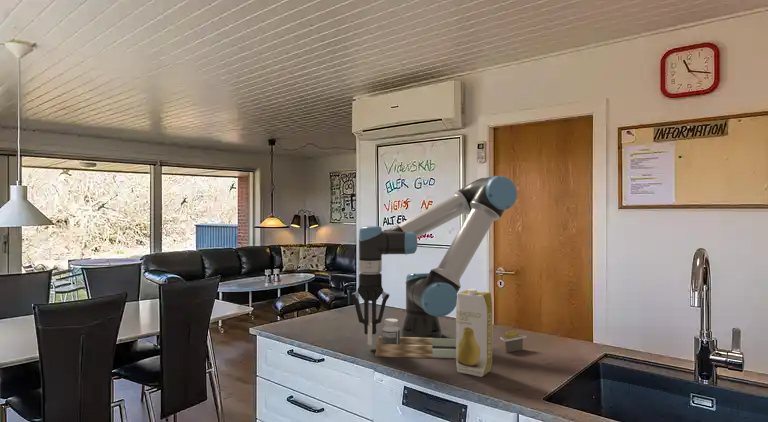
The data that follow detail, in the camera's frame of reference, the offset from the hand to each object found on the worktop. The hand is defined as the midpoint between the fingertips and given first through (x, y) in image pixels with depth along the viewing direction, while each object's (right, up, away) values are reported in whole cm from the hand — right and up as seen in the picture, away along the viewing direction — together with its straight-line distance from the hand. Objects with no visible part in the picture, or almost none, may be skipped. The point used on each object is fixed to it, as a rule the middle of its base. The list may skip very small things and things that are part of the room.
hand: (370, 343), depth 164 cm
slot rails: (+11, -2, -1) cm, 12 cm away
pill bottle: (+7, -2, -1) cm, 7 cm away
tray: (+27, -2, -2) cm, 27 cm away
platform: (+47, -3, 0) cm, 47 cm away
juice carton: (+30, -2, -23) cm, 38 cm away
